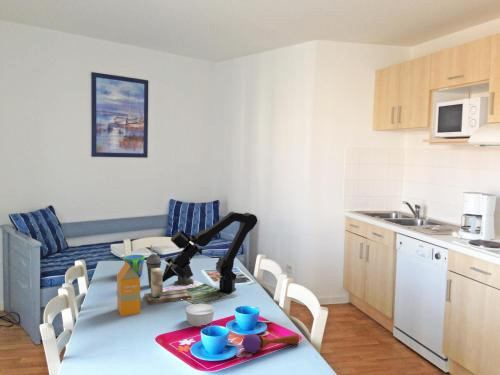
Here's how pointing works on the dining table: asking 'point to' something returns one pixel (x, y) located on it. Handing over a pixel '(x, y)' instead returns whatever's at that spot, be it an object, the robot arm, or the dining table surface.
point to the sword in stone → (184, 281)
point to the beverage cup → (152, 264)
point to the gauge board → (168, 296)
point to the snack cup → (135, 263)
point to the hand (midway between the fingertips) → (161, 281)
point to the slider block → (156, 282)
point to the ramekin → (199, 314)
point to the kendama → (266, 341)
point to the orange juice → (128, 291)
